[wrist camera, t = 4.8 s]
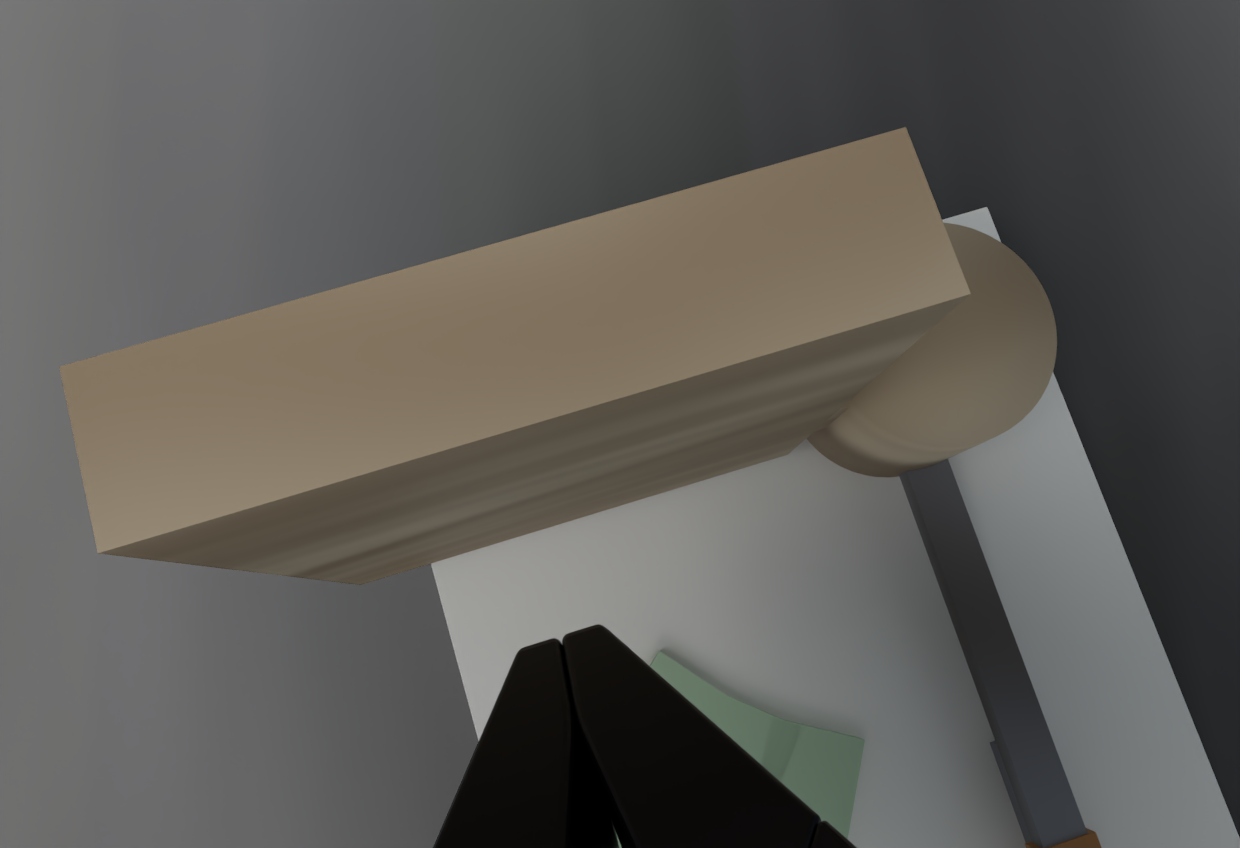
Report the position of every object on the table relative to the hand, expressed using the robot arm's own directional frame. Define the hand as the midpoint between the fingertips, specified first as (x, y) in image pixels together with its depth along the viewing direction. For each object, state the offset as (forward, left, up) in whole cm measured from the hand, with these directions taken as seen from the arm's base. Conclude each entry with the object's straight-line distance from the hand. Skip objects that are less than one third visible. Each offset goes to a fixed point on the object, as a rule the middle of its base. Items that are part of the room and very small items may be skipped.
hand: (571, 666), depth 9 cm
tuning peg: (-2, -2, -6) cm, 7 cm away
